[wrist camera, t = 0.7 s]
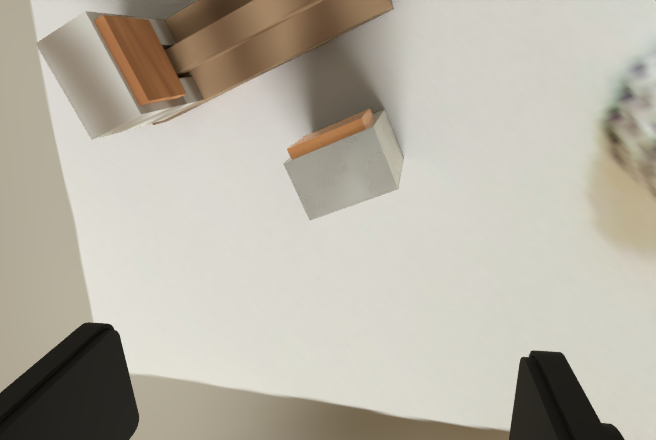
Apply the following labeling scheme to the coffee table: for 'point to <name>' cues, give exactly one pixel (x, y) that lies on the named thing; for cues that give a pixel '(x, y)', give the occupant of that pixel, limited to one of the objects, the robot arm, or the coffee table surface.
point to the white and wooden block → (345, 163)
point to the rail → (185, 54)
